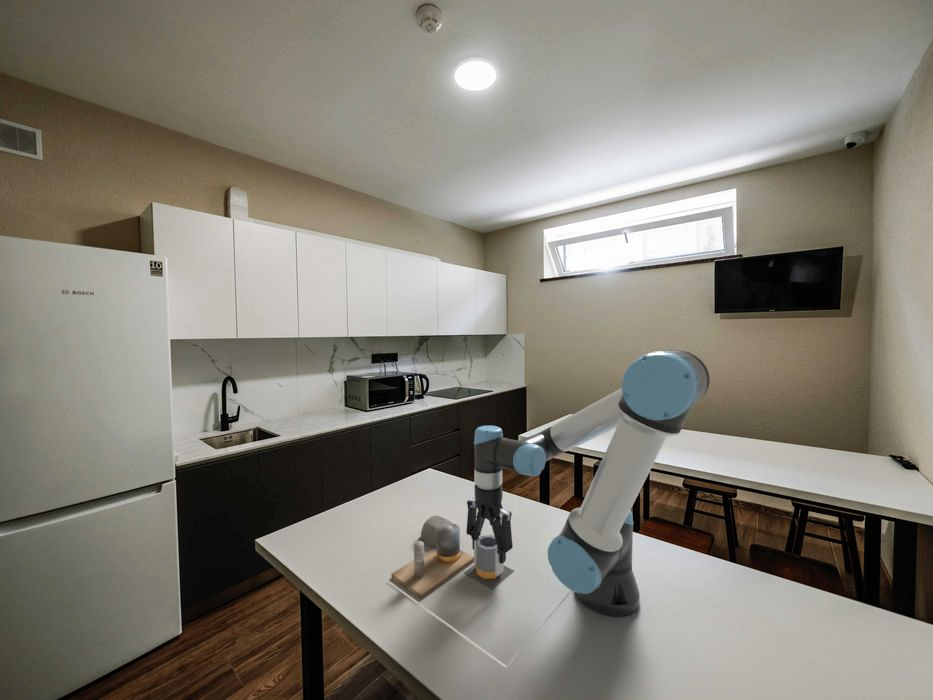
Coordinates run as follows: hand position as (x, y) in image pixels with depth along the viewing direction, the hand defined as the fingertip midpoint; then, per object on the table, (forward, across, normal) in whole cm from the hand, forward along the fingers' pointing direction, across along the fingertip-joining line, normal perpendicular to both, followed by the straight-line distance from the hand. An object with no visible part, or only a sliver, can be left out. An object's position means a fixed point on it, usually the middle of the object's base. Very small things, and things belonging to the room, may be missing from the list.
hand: (488, 567), depth 100 cm
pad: (+2, 0, 0) cm, 2 cm away
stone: (+2, +22, -2) cm, 22 cm away
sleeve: (+1, 0, 0) cm, 1 cm away
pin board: (+2, +12, +9) cm, 15 cm away
